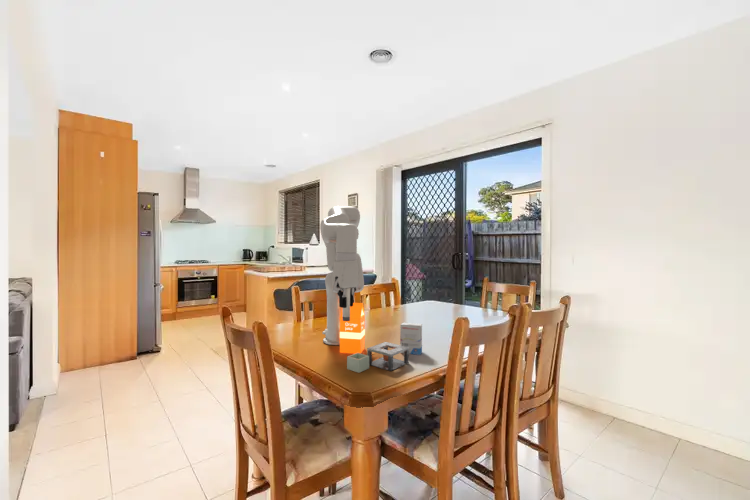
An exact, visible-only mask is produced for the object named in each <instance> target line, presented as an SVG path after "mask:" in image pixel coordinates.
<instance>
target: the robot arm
mask: <svg viewBox="0 0 750 500" xmlns="http://www.w3.org/2000/svg"><path fill="white" fill-rule="evenodd" d="M360 220H361V213H360V211H359V209H358V207H356V206H353V205H352V206H350V205H349V206H348V205H347V206H346V205H344V206H343V205H342V206H341V205H340V206H339V205H337V206H332V207H331V208H329V210H328V213H327V217H326V218H325V217H324V218H323V219H322V220H321V221H320V226H319V227H320V228H319V229H320V234H321V238H322V241H323V243H324V245H325V250H326V262H327V263H326V264H327V269H328V270H329V271H330V272H329V273H327V274H326V276H325V278H324V284H325V290H326V291H325V292H326V328H325V329H324V331H322V335H325V337H324V338H323V343H324V344H326V345H330V346H340V315H341V310H342V308H346V307H347V297H345V295H346V289H347V288H350V306H351V307H352V306H353V303H354V296H355V293H361V292H362V291H363V290H364V288H365V279H364V271H363V263H362V258H361V255H360V254H359V253H358V251H357V250H358V247H357V245H358V244H357V243H358V239H359V235H360V234H359V233H360V232H359V228H358V227H359V224H360Z"/></svg>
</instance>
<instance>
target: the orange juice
mask: <svg viewBox="0 0 750 500" xmlns="http://www.w3.org/2000/svg"><path fill="white" fill-rule="evenodd" d="M365 317H366V314H365V309H364V304H363V302H353V306H352V307H351V306H350V321H343V320H342V310H341V315H340V345H339V353H340V354H341V353H342V354H352V355H353V354H355V353H361V354H363V351H364V350H365V337H366V323H365V322H366V318H365Z"/></svg>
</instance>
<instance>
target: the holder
mask: <svg viewBox="0 0 750 500" xmlns="http://www.w3.org/2000/svg"><path fill="white" fill-rule="evenodd" d="M346 366H347V367H346V369H347V370H349V371H352V372H355V373H359V374H360V373H361V372H364V371H366V370H369V369H370V365H369V356H368V355H367V354H364V353H355V354H353V353H352V354H350V355H348V356H346Z"/></svg>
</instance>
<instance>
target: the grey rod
mask: <svg viewBox="0 0 750 500" xmlns="http://www.w3.org/2000/svg"><path fill="white" fill-rule="evenodd" d="M345 297H347V307H346V308H342V320H343V321H350V288H347V289H346V295H345Z"/></svg>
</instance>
